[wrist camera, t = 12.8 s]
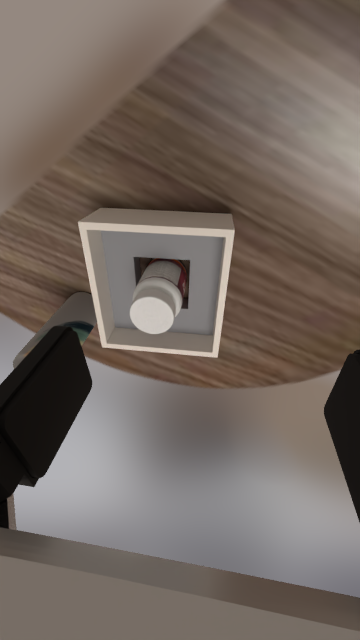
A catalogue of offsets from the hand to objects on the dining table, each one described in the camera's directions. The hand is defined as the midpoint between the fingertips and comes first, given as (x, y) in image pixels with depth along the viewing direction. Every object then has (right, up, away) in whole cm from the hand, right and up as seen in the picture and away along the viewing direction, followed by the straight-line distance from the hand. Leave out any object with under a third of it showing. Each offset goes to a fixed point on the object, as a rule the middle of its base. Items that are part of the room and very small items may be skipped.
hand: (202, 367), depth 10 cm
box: (-3, +8, +30) cm, 31 cm away
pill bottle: (-3, +9, +30) cm, 31 cm away
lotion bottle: (-16, +4, +35) cm, 39 cm away
